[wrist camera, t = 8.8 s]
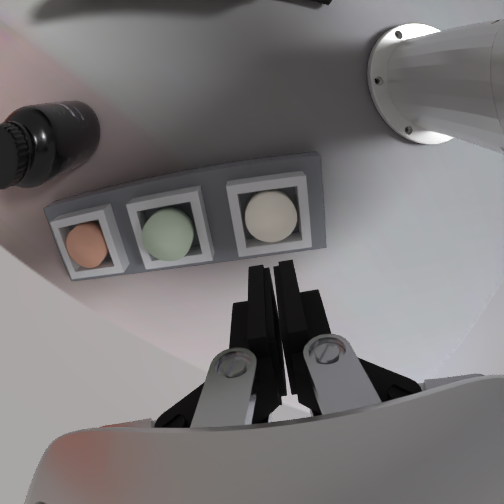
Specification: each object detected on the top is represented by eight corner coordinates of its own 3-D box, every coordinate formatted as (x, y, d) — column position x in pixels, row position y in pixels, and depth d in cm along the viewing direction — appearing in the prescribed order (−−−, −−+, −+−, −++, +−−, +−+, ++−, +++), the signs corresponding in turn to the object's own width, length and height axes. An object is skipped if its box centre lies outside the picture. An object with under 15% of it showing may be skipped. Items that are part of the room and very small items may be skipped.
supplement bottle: (100, 94, 25) (24, 100, 14) (105, 161, 28) (37, 199, 17) (44, 107, 25) (-35, 124, 14) (51, 169, 28) (-22, 208, 17)
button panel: (315, 151, 28) (324, 159, 25) (322, 238, 32) (330, 256, 29) (52, 202, 30) (34, 214, 26) (78, 272, 34) (64, 290, 30)
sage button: (188, 203, 27) (185, 210, 25) (199, 248, 29) (196, 257, 27) (142, 211, 27) (135, 218, 26) (154, 254, 29) (149, 264, 28)
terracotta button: (103, 216, 28) (95, 223, 27) (116, 256, 30) (110, 265, 29) (68, 224, 29) (60, 231, 27) (82, 261, 31) (75, 270, 29)
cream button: (291, 184, 27) (294, 190, 26) (296, 230, 29) (299, 238, 28) (241, 191, 28) (241, 197, 26) (249, 236, 30) (249, 245, 28)
